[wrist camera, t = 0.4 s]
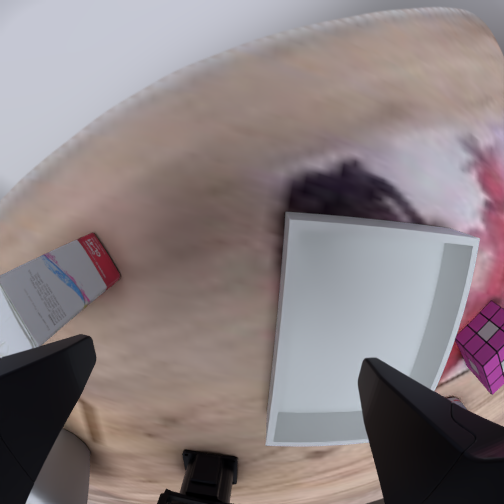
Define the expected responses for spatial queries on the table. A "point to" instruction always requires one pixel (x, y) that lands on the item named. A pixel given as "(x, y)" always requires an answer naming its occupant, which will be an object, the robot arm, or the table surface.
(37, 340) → the ink box
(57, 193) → the table surface
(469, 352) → the puzzle toy
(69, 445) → the vase
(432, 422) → the robot arm
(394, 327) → the tote
